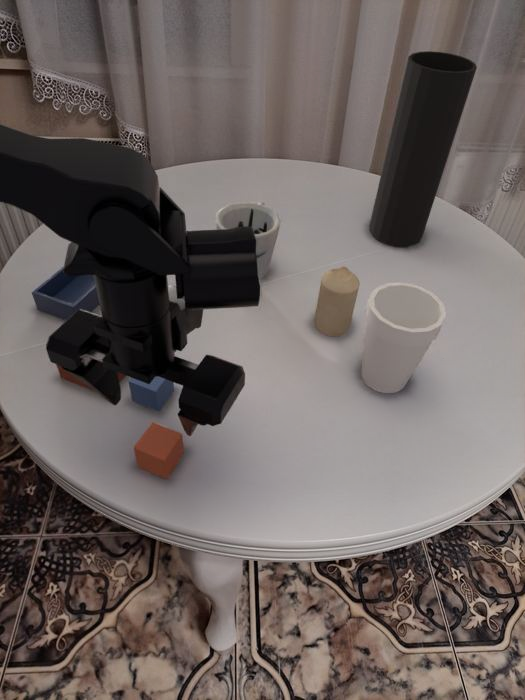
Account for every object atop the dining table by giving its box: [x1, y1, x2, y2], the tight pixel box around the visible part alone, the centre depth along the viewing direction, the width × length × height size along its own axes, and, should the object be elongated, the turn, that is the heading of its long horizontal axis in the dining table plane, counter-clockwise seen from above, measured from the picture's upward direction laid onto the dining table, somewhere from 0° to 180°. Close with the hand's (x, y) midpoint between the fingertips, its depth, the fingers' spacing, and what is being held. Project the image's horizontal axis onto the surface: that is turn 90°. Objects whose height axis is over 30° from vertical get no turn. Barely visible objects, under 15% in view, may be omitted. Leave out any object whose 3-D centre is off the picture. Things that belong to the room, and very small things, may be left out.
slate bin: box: [31, 266, 100, 321], centre depth 81 cm, size 8×16×3 cm, turn 157°
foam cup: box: [361, 281, 447, 394], centre depth 67 cm, size 10×9×13 cm
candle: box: [313, 266, 361, 337], centre depth 75 cm, size 6×6×10 cm
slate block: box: [128, 376, 175, 412], centre depth 66 cm, size 4×4×4 cm
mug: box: [214, 201, 282, 281], centre depth 86 cm, size 10×15×10 cm
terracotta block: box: [133, 421, 185, 480], centre depth 59 cm, size 4×4×4 cm
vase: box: [368, 50, 478, 248], centre depth 88 cm, size 10×10×30 cm
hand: (153, 416), depth 54 cm, fingers open, 9 cm apart
